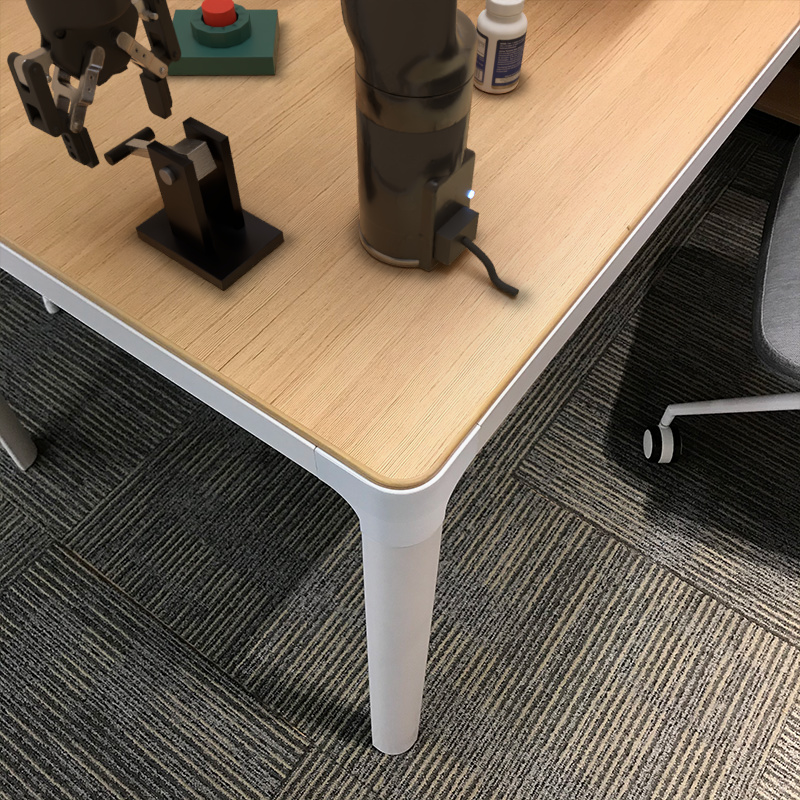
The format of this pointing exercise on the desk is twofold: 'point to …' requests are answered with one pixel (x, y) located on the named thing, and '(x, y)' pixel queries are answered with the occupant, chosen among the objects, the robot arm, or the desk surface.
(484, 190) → the desk surface
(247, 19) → the control block
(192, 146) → the lever
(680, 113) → the desk surface
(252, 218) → the black lever mount
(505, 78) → the pill bottle
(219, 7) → the button
